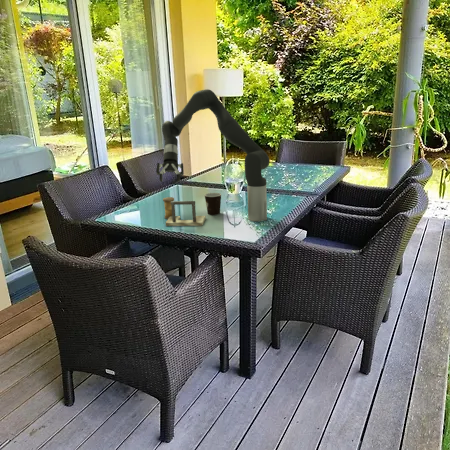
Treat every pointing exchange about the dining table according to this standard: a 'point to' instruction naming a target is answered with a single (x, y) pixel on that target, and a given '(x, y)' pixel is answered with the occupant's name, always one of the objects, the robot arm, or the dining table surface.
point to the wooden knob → (168, 206)
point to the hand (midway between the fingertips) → (169, 181)
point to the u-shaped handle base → (176, 220)
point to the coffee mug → (213, 203)
